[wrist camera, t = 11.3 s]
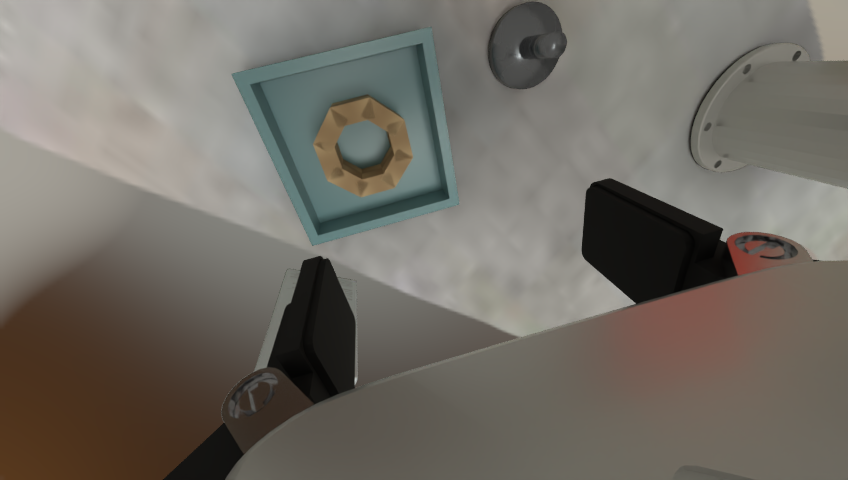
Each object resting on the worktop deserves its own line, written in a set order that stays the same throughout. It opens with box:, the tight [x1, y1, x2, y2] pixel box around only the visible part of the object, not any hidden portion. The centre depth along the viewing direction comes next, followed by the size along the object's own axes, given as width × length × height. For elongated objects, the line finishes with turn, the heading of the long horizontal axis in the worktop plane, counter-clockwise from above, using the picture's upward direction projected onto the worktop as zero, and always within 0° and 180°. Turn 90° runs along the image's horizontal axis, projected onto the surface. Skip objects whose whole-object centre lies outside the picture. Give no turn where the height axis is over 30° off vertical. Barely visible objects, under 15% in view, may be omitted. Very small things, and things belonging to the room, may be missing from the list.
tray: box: [232, 27, 459, 246], centre depth 25 cm, size 14×14×3 cm
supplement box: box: [254, 269, 358, 384], centre depth 29 cm, size 7×7×13 cm
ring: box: [313, 94, 413, 197], centre depth 25 cm, size 7×7×3 cm
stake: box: [488, 2, 567, 89], centre depth 24 cm, size 6×6×5 cm
